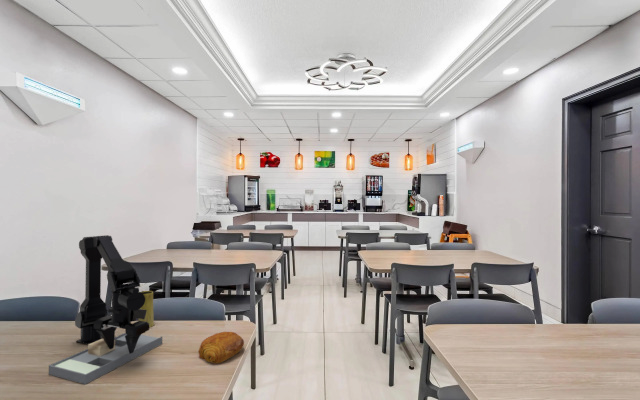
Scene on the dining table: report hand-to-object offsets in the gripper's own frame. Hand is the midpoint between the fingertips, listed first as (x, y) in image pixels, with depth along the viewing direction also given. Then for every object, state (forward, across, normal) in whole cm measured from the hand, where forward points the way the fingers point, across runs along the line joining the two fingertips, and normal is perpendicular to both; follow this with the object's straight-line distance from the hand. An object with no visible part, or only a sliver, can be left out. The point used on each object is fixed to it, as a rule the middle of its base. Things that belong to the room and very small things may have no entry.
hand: (121, 350), depth 109 cm
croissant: (+4, -28, -16) cm, 32 cm away
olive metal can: (+4, +17, -26) cm, 31 cm away
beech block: (+1, +8, 0) cm, 8 cm away
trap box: (+3, +5, 0) cm, 6 cm away
